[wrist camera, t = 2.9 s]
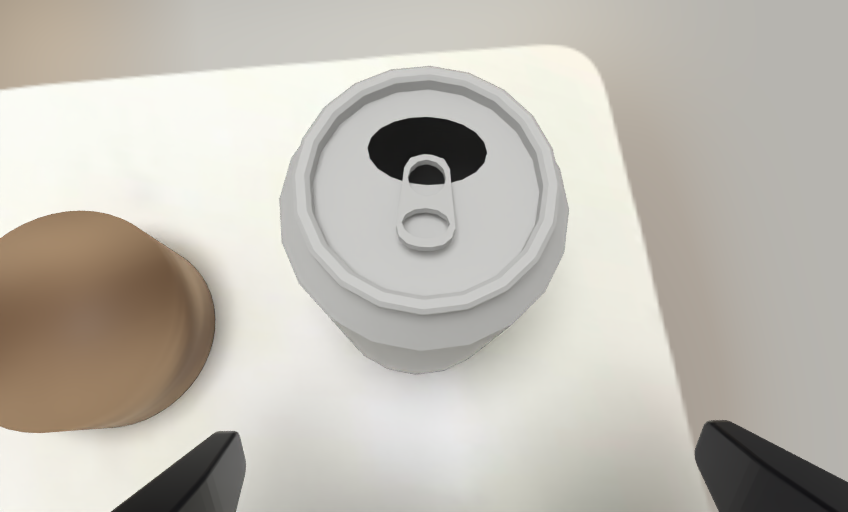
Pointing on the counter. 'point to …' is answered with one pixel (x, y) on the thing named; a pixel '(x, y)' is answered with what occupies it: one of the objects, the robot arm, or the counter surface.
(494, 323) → the can
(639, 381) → the counter surface
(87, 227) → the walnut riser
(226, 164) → the counter surface
